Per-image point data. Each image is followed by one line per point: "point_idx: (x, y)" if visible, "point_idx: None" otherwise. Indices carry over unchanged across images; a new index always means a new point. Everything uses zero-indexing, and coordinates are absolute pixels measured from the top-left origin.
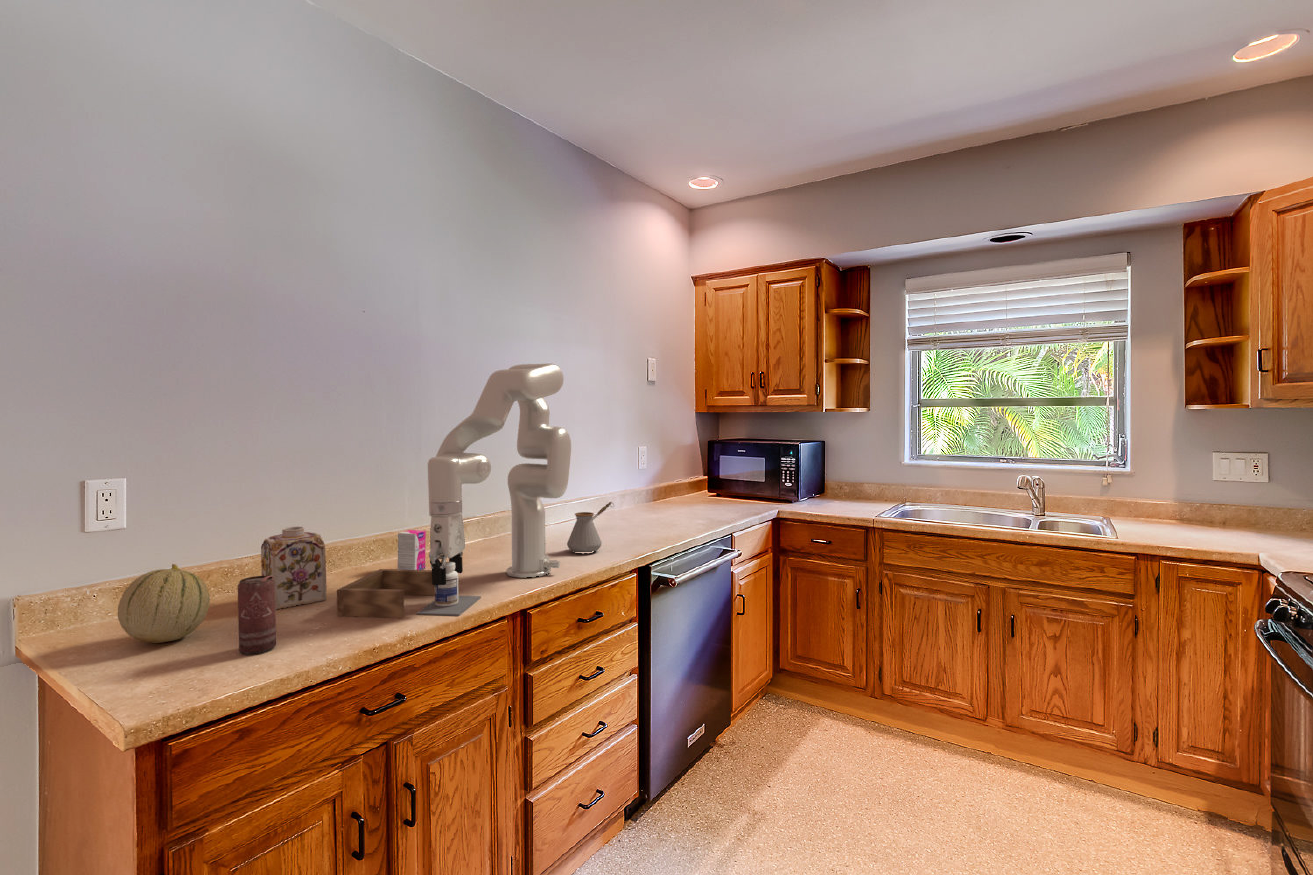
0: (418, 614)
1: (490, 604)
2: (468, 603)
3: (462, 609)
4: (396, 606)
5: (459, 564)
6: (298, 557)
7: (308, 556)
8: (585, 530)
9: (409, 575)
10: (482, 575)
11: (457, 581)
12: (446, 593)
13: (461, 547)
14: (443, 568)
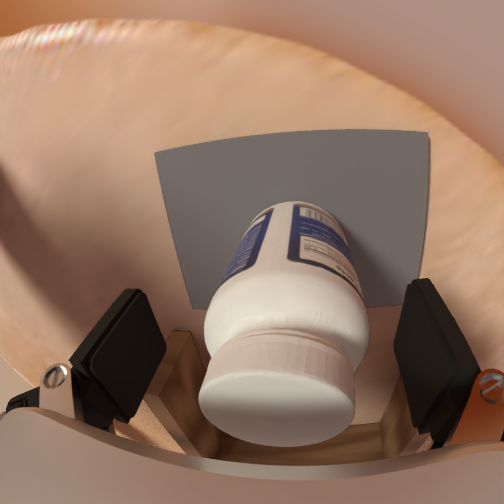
0: None
1: (237, 57)
2: (271, 151)
3: (367, 140)
4: None
5: (119, 336)
6: None
7: None
8: None
9: (193, 430)
10: (19, 269)
11: (281, 247)
12: (351, 258)
13: (70, 481)
14: (484, 370)
